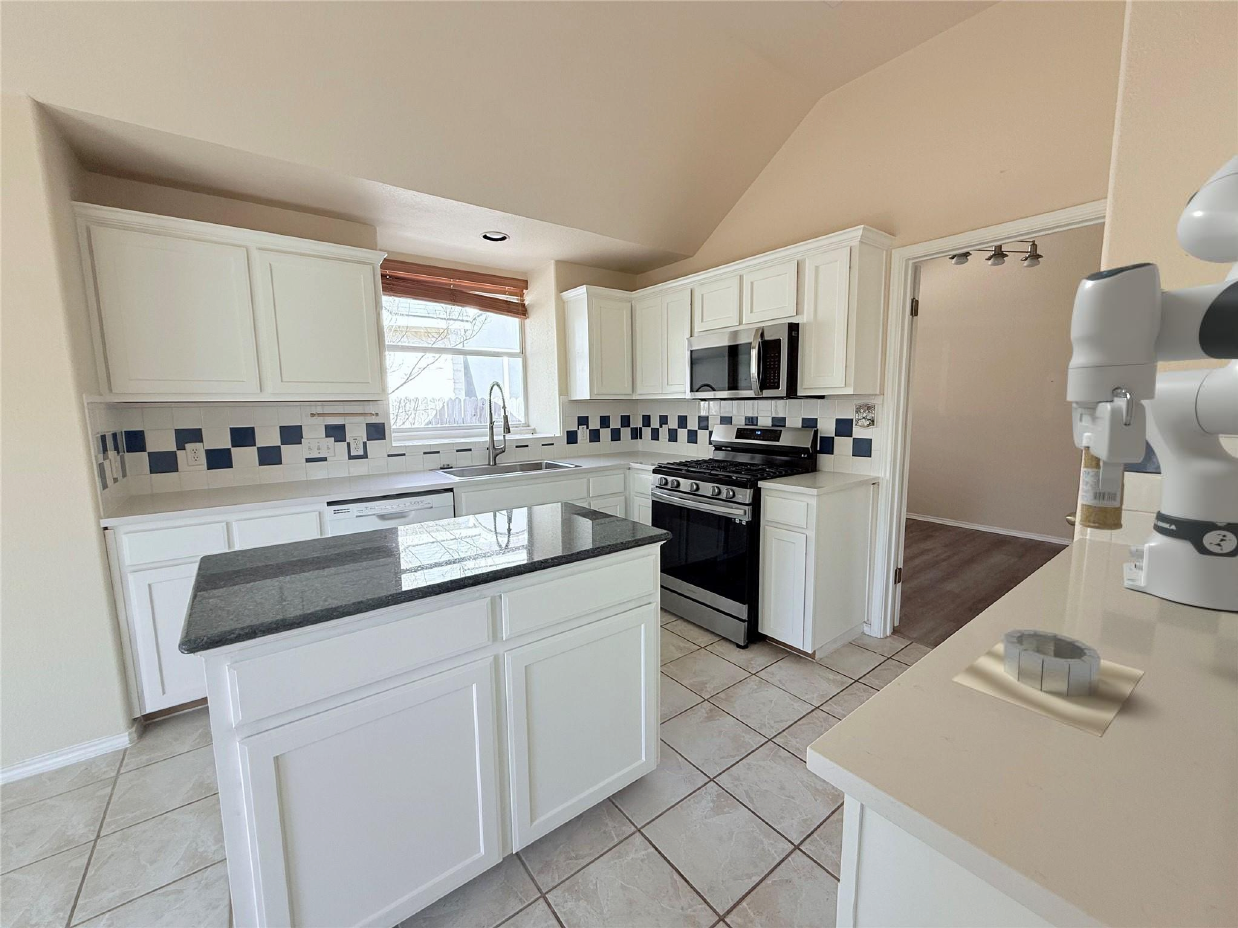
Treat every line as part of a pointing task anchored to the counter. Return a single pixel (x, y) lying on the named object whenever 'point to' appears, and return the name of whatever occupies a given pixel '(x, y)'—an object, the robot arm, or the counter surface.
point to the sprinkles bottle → (1099, 495)
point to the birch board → (1070, 710)
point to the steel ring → (1051, 662)
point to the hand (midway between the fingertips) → (1102, 487)
